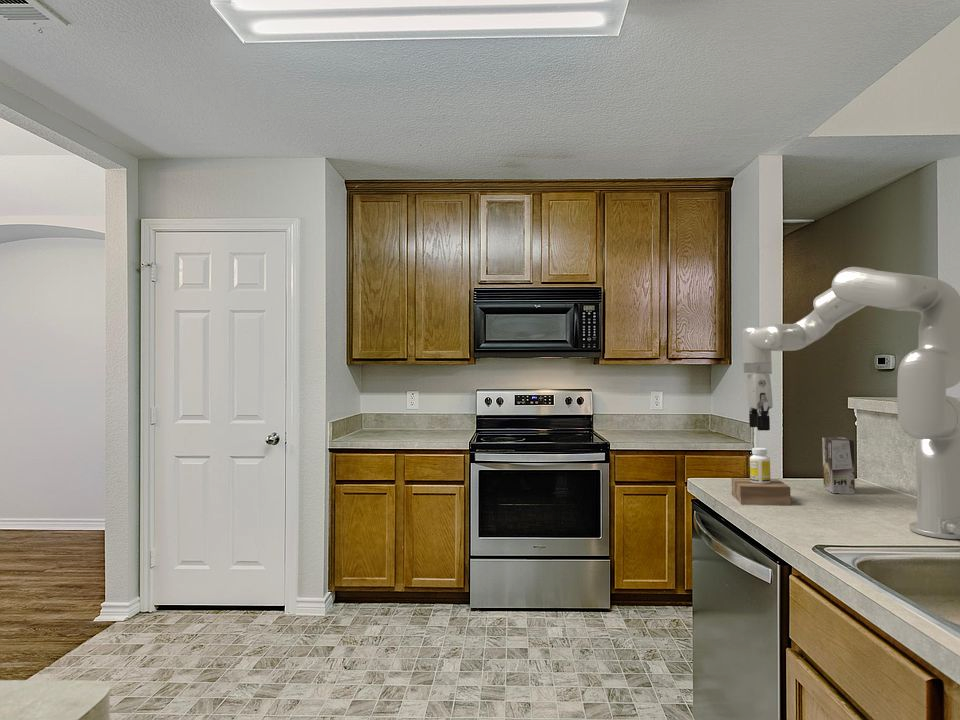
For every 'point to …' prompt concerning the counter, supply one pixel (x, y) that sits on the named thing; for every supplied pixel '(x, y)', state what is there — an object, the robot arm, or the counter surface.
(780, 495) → the walnut block
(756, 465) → the supplement bottle
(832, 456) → the coffee box
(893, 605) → the counter surface
